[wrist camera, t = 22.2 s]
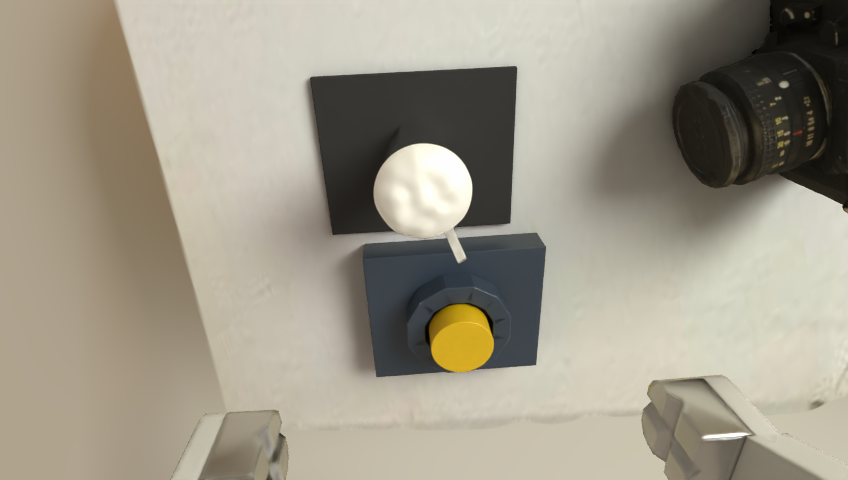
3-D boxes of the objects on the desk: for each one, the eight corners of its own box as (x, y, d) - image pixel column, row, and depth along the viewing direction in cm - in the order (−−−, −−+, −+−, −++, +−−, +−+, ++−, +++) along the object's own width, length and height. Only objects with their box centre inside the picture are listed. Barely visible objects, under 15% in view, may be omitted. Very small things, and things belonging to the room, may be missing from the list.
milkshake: (411, 206, 30) (419, 286, 21) (364, 137, 28) (350, 194, 19) (471, 169, 29) (506, 236, 20) (427, 95, 27) (444, 134, 18)
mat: (333, 232, 31) (332, 235, 31) (311, 76, 27) (309, 77, 26) (508, 221, 31) (510, 223, 31) (515, 66, 27) (517, 66, 27)
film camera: (598, 33, 27) (702, 41, 18) (806, -131, 24) (1057, -221, 15) (715, 243, 33) (833, 327, 24) (888, 135, 30) (1095, 185, 21)
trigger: (429, 353, 32) (432, 374, 30) (427, 305, 30) (429, 324, 28) (487, 349, 32) (493, 370, 30) (488, 301, 30) (494, 319, 28)
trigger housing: (377, 357, 36) (375, 395, 32) (364, 243, 32) (360, 272, 28) (528, 346, 36) (543, 382, 33) (536, 232, 32) (555, 259, 28)
